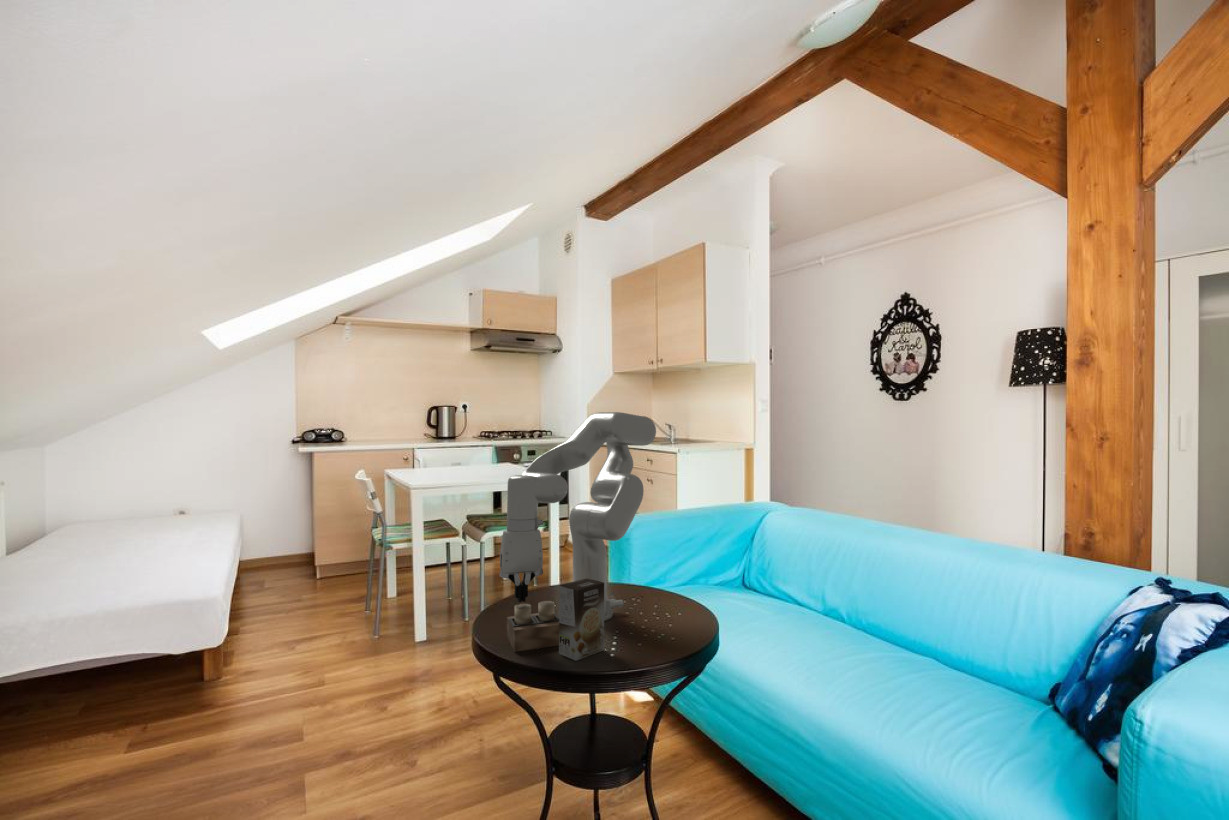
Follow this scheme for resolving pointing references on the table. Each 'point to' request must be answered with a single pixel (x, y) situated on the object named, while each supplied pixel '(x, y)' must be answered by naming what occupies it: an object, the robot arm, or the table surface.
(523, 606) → the peg outer
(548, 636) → the press block
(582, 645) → the cookie box
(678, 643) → the table surface
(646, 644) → the table surface
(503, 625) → the table surface
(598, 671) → the table surface
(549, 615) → the peg inner
